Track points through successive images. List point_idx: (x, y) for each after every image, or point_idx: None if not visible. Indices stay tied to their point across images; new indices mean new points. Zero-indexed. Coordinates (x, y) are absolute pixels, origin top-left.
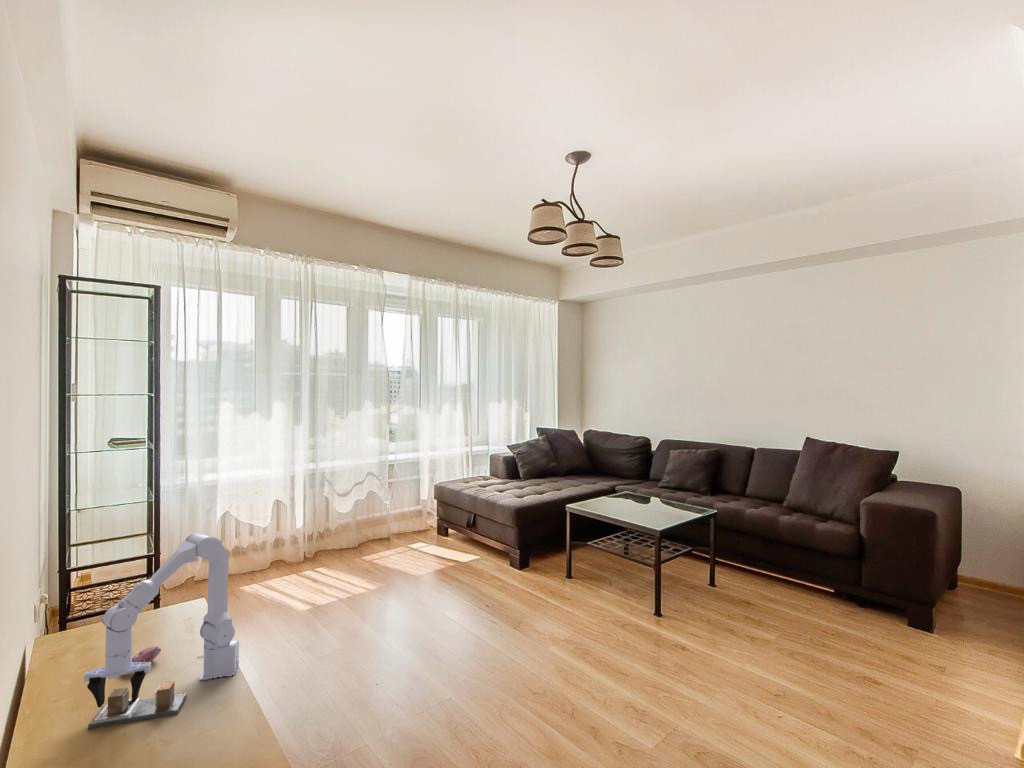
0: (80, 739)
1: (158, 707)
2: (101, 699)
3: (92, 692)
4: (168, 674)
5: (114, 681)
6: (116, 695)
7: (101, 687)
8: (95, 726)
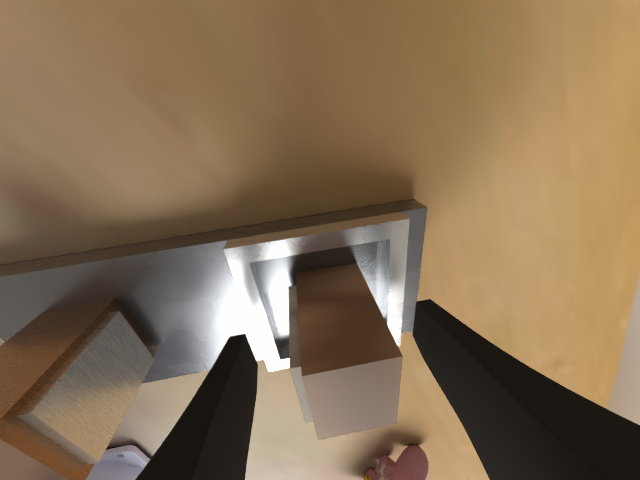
0: (419, 106)
1: (95, 307)
2: (440, 345)
3: (589, 404)
4: (283, 452)
5: (427, 424)
6: (344, 376)
7: (517, 458)
8: (385, 206)
